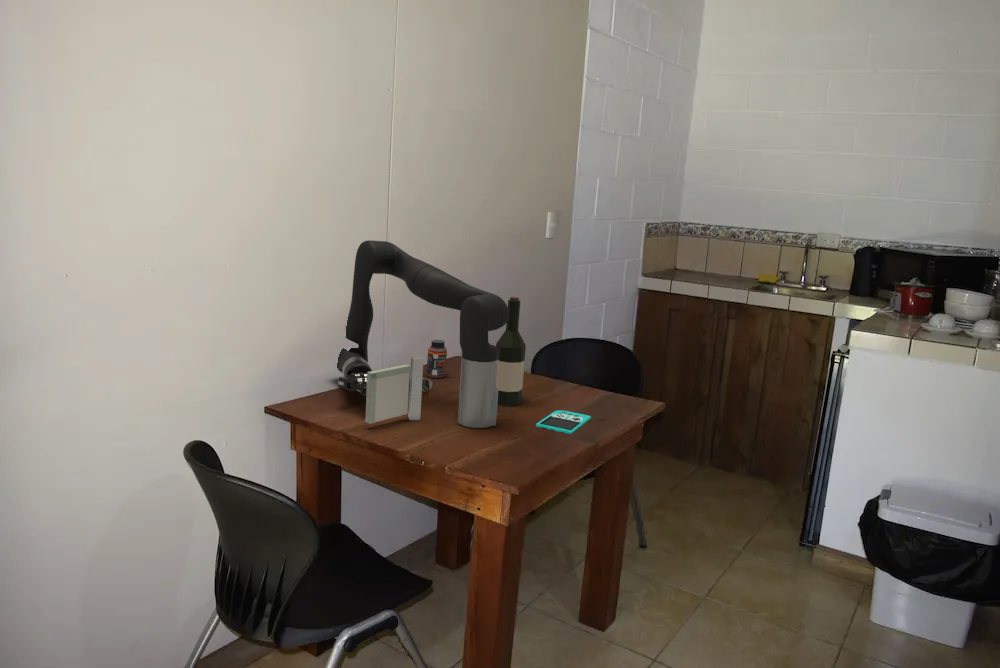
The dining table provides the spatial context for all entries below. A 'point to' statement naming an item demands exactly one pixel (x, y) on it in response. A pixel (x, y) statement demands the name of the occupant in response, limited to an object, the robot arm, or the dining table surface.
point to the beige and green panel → (387, 393)
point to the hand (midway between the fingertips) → (367, 391)
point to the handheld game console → (563, 421)
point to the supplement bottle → (436, 359)
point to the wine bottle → (511, 359)
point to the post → (415, 388)
